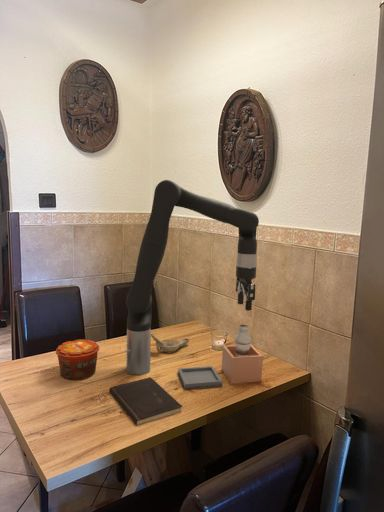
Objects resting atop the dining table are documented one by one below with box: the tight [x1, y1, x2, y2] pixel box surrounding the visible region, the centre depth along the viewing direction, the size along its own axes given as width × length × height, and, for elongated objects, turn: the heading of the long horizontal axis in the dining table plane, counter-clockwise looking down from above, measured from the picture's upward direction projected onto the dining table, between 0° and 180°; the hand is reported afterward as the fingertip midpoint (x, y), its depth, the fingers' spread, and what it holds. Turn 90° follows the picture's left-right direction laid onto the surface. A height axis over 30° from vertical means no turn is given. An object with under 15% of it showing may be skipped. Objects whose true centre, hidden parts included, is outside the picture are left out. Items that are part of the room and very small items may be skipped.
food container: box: [55, 339, 100, 381], centre depth 144 cm, size 16×16×11 cm
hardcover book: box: [108, 376, 183, 426], centre depth 125 cm, size 16×23×2 cm
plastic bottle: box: [234, 324, 252, 357], centre depth 145 cm, size 6×7×20 cm
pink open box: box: [221, 343, 264, 385], centre depth 146 cm, size 12×12×10 cm
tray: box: [177, 365, 223, 390], centre depth 142 cm, size 14×13×2 cm
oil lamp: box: [151, 333, 190, 353], centre depth 169 cm, size 9×21×10 cm, turn 130°
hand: (244, 307), depth 143 cm, fingers open, 8 cm apart
